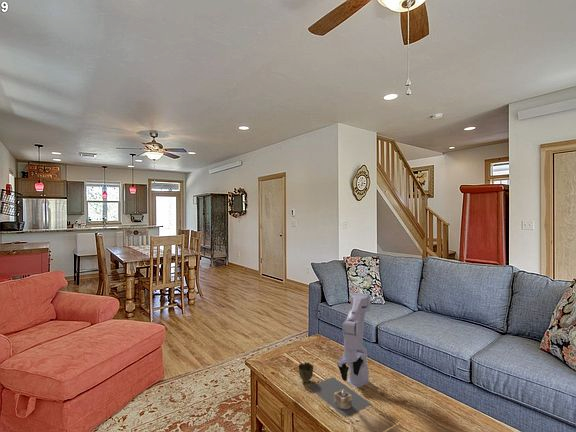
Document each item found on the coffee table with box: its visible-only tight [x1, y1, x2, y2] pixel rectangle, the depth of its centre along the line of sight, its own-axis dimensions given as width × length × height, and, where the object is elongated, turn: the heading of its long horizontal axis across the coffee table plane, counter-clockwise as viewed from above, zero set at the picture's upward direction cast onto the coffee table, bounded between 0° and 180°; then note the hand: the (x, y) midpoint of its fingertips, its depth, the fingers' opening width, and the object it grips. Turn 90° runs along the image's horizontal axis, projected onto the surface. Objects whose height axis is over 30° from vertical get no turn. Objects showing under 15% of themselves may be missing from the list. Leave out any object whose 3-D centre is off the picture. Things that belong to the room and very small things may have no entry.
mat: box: [307, 376, 373, 418], centre depth 139 cm, size 16×26×1 cm, turn 32°
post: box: [335, 390, 352, 410], centre depth 132 cm, size 7×7×6 cm
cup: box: [298, 362, 314, 384], centre depth 151 cm, size 8×7×8 cm
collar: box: [334, 389, 352, 409], centre depth 132 cm, size 5×5×4 cm
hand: (350, 377), depth 137 cm, fingers open, 7 cm apart
